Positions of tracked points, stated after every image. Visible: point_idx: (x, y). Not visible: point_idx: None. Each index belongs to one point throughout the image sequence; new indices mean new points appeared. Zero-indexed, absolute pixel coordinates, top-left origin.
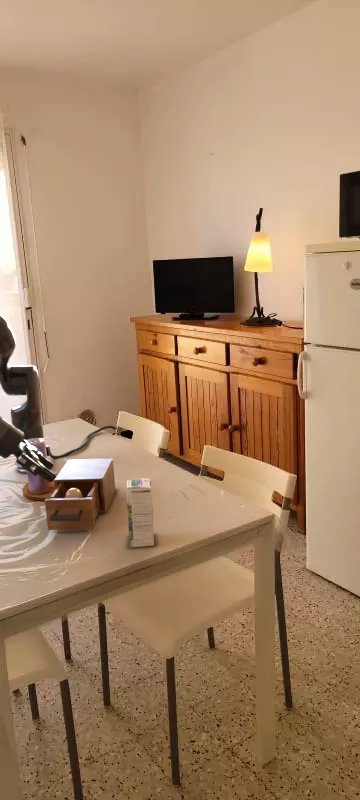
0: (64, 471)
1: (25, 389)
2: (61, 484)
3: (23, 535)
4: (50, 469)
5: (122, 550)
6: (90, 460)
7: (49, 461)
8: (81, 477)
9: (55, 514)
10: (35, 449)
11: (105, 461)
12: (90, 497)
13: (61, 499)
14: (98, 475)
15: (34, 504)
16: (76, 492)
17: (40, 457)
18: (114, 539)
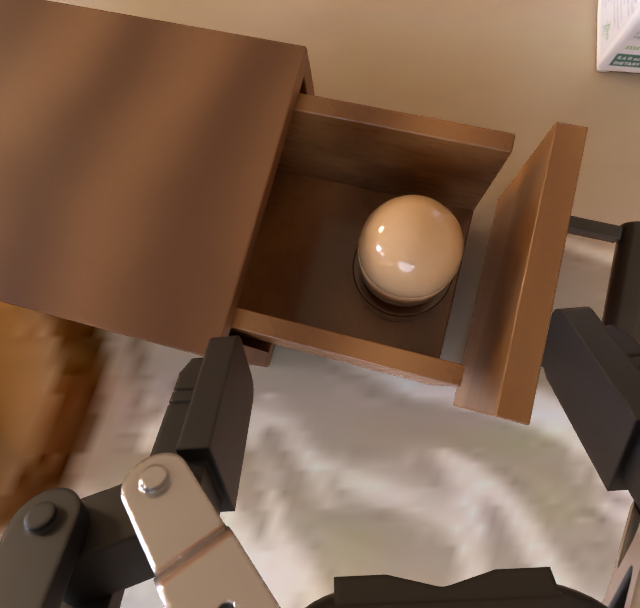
0: (77, 287)
1: None
2: (254, 314)
3: (459, 530)
4: (249, 371)
5: None
6: None
7: (227, 371)
8: (238, 173)
9: None
10: (238, 590)
11: (1, 26)
12: (556, 131)
13: (541, 311)
14: (242, 68)
15: (109, 482)
16: (448, 215)
17: (206, 478)
18: (600, 132)
